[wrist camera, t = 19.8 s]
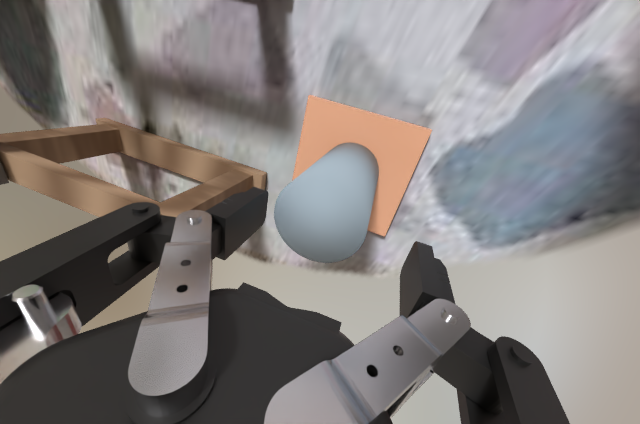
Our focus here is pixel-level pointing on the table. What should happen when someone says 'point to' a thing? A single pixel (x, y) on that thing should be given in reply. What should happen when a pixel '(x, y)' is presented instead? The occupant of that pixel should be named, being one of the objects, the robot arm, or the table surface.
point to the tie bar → (3, 175)
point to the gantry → (109, 137)
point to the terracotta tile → (375, 134)
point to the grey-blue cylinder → (329, 204)
